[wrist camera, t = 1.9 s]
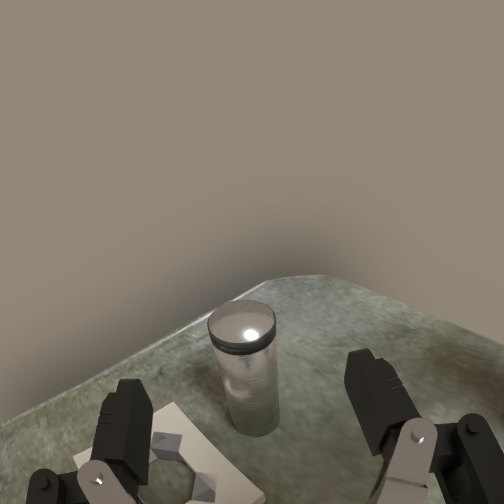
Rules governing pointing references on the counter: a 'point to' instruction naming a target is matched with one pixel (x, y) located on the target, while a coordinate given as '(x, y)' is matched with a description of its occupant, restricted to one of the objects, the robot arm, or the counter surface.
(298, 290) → the counter surface
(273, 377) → the grey cylindrical piece
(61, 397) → the counter surface
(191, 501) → the mount plate
